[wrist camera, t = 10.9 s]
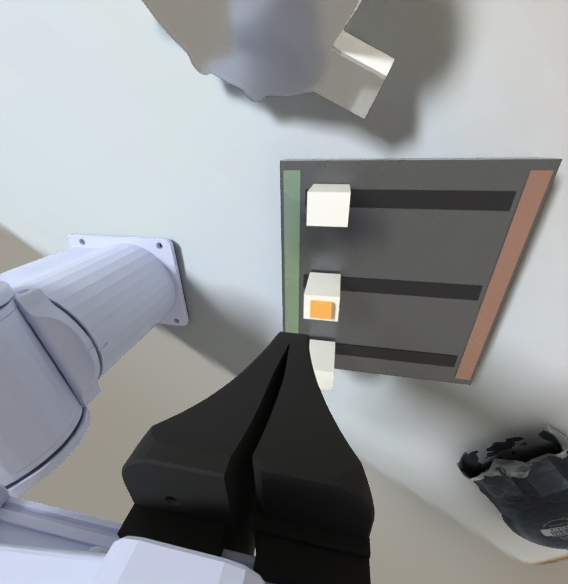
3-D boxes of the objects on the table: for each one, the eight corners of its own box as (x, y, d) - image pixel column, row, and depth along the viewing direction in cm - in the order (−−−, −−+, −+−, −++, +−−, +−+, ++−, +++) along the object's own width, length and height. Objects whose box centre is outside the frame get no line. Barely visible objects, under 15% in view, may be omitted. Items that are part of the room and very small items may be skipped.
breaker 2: (307, 355, 22) (302, 386, 19) (308, 339, 21) (303, 368, 18) (333, 358, 21) (332, 390, 19) (335, 341, 21) (333, 372, 18)
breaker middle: (309, 293, 19) (302, 321, 16) (310, 272, 18) (303, 297, 15) (338, 295, 19) (337, 324, 16) (340, 274, 18) (340, 299, 15)
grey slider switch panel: (287, 347, 25) (283, 362, 23) (286, 159, 18) (279, 160, 16) (460, 366, 22) (470, 385, 20) (537, 157, 15) (563, 158, 13)
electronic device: (439, 440, 29) (523, 537, 30) (461, 490, 24) (562, 605, 25) (530, 396, 26) (618, 505, 27) (578, 443, 21) (686, 576, 22)
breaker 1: (312, 212, 17) (306, 225, 14) (313, 183, 16) (307, 192, 13) (346, 213, 16) (347, 227, 14) (349, 184, 16) (350, 192, 13)
